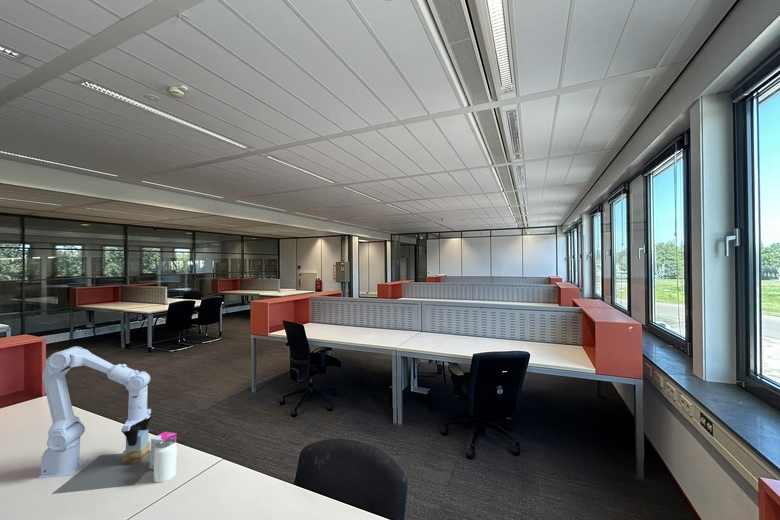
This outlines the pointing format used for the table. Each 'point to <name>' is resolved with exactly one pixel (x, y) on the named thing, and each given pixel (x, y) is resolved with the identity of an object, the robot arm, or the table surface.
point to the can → (165, 460)
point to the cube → (139, 441)
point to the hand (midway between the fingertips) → (136, 441)
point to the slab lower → (136, 459)
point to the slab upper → (136, 452)
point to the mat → (106, 474)
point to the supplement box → (156, 440)
